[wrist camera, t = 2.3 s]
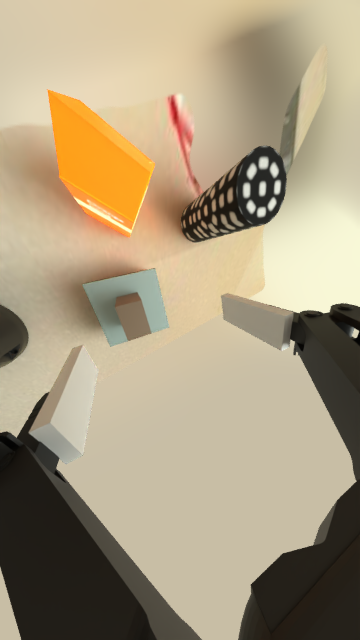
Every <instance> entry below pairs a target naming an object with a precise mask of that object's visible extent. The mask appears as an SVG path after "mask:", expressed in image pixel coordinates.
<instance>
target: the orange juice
mask: <svg viewBox="0 0 360 640" xmlns="http://www.w3.org/2000/svg"><path fill="white" fill-rule="evenodd" d="M48 96H49V103H50V110H51V117H52V124H53V131H54V138H55V145H56V152H57V159H58V166H59V173H60V174H59V177H60V179H61V180H62V181H63V183H64V184H65V185H66V187H67V188H68V190H69V191H70V192H71V194H72V195H73V196H74V198H75V200H76V201H77V202H78V203H79V204H80V206H81V207H82V209H83V210H84V211H85V213H86V214H88V215H90V216H91V217H93V218H95V219H97V220H99V221H100V222H102V223H104V224H106V225H108V226H109V227H111V228H113V229H115V230H117V231H118V232H120V233H122V234H124V235H126V236H127V237H129V238H130V235H131V232H132V229H133V227H134V224H135V221H136V218H137V216H138V213H139V210H140V207H141V205H142V202H143V199H144V196H145V193H146V191H147V188H148V184H149V181H150V178H151V175H152V172H153V169H154V166H155V163H154V162H152V161H151V160H150V159H149V158H148V157H146V156H145V155H144V154H143V153H142V152H141V151H139V150H138V149H137V148H136V147H135V146H133V145H132V144H131V143H130V142H129V141H128V140H126V139H125V138H124V137H123V136H122V135H120V134H119V133H118V132H117V131H116V130H114V129H113V128H112V127H111V126H110V125H109V124H107V123H106V122H105V121H104V120H103V119H101V118H100V117H99V116H98V115H97V114H96V113H94V112H93V111H92V110H91V109H90V108H88V107H87V106H86V105H85V104H84V103H82V102H81V101H80V100H77V99H74V98H71V97H68V96H65V95H62V94H60V93H56V92H54V91H51V90H48Z"/></svg>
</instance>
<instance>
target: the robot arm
mask: <svg viewBox="0 0 360 640" xmlns="http://www.w3.org/2000/svg"><path fill="white" fill-rule="evenodd" d="M221 298H222V308H223V318H224V320H226V321H228V322H230V323H231V324H233V325H235V326H237V327H238V328H240V329H242V330H244V331H246V332H248V333H250V334H251V335H253V336H255V337H257V338H259V339H261V340H263V341H264V342H266V343H268V344H270V345H271V346H273V347H275V348H277V349H279V350H281V351H282V350H284V349H286V348H288V347H289V346H290V339H291V340H293V341H295V345H294V355H296V352H298V355H299V356H300V357H301V359H302V361H303V363H304V365H305V367H306V369H307V371H308V373H309V375H310V377H311V378H312V381H313V383H314V385H315V387H316V389H317V391H318V392H319V394H320V396H321V398H322V400H323V402H324V404H325V406H326V408H327V410H328V412H329V414H330V416H331V418H332V420H333V421H334V424H335V426H336V427H337V429H338V431H339V433H340V435H341V437H342V439H343V441H344V443H345V445H346V447H347V449H348V451H349V453H350V455H351V458H352V463H353V471H354V475H355V478H356V481H357V482H356V483H354V484H353V485H352V486H351V488H349V489H348V490H347V491H346V492H345V493H344V494H343V495H342V496H341V497H340V498H339V499H338V500H337V502H336V503H335V504H334V506H333V507H332V509H331V510H330V512H329V513H328V515H327V516H326V518H325V519H324V521H323V522H322V524H321V525H320V527H319V530H318V533H317V536H316V539H315V542H314V545H313V546H309V547H305V548H302V549H298V550H294V551H291V552H287V553H283V554H282V555H281V556H280V557H279V558H278V559H277V560H276V561H275V562H274V563H273V564H271V565H270V566H269V567H268V568H267V570H265V571H264V572H263V573H262V574H261V575H260V576H259V577H258V578H257V579H256V580H255V581H254V582H253V583H252V584H251V596H250V598H249V600H248V603H247V605H246V608H245V612H244V615H243V618H242V622H241V627H240V633H239V639H238V640H360V307H358V306H355V305H350V304H343V303H341V304H335V305H332V306H331V309H330V312H329V313H322V312H319V311H302V312H300V313H296V312H293V311H289V310H286V309H281V308H279V307H275V306H272V305H267V304H263V303H260V302H256V301H253V300H249V299H246V298H242V297H239V296H235V295H232V294H228V293H227V294H224V295H221ZM354 328H355V329H357V330H359V334H358V337H357V338H354V337H352V334H353V331H354ZM27 343H28V332H27V329H26V327H25V325H24V323H23V322H22V320H21V319H20V318H19V317H18V316H17V315H16V314H14V313H13V312H12V311H10V310H9V309H7V308H5V307H4V306H2V305H0V368H1V367H3V366H5V365H7V364H9V363H10V362H12V361H13V360H14V359H16V358H17V357H18V356H19V355H20V354H21V353H22V352H23V351H24V350H25V348H26V346H27ZM97 376H98V368H97V367H96V365H95V363H94V362H93V360H92V359H91V357H90V355H89V354H88V352H87V350H86V349H85V347H84V345H81V346H78V347H76V348H73V349H72V351H71V353H70V355H69V356H68V358H67V360H66V362H65V364H64V366H63V368H62V370H61V372H60V374H59V375H58V377H57V379H56V381H55V383H54V385H53V387H52V389H51V391H50V392H48V393H46V394H45V395H44V396H43V397H42V398H41V399H40V400H39V401H38V402H37V404H36V405H35V407H34V409H33V411H32V413H31V414H30V416H29V418H28V420H27V421H26V423H25V424H24V426H23V428H22V430H21V431H20V433H19V435H18V437H17V438H16V437H15V436H13V435H12V434H11V433H9V432H2V433H0V567H1V571H2V574H3V577H4V581H5V584H6V588H7V591H8V595H9V598H10V602H11V605H12V609H13V612H14V616H15V619H16V623H17V626H18V629H19V633H20V636H21V640H202V639H201V638H200V637H199V636H198V635H197V634H196V633H195V632H194V630H193V629H192V628H191V627H190V626H189V625H188V624H187V623H185V622H184V621H183V620H182V619H181V618H180V617H179V616H178V615H177V614H176V613H175V611H174V610H173V609H172V608H171V607H170V606H169V605H168V603H167V602H166V601H165V600H164V598H163V597H162V596H161V595H160V593H159V592H158V591H157V590H156V589H155V587H154V586H153V585H152V584H151V582H150V581H149V580H148V579H147V578H146V576H145V575H144V574H143V573H142V571H141V570H140V569H139V568H138V567H137V565H136V564H135V563H134V562H133V560H132V559H131V558H130V557H129V556H128V555H127V553H126V552H125V551H124V549H123V548H122V547H121V546H120V545H119V544H118V542H117V541H116V540H115V538H114V537H113V536H112V535H111V534H110V533H109V531H108V530H107V529H106V528H105V526H104V525H103V524H102V523H101V521H100V520H99V519H98V518H97V517H96V515H95V514H94V513H93V512H92V511H91V509H90V508H89V507H88V506H87V505H86V503H85V502H84V501H83V499H81V497H80V496H79V495H78V494H77V492H76V491H75V490H74V489H73V488H72V486H71V485H70V484H69V482H68V481H67V480H66V479H65V478H64V476H63V475H62V474H61V473H60V472H59V471H58V470H57V469H56V467H57V464H58V461H59V459H60V460H62V462H64V463H65V464H68V463H70V462H72V461H73V460H75V459H77V458H79V457H81V456H83V453H84V447H85V442H86V436H87V430H88V425H89V420H90V414H91V409H92V403H93V397H94V392H95V387H96V381H97Z"/></svg>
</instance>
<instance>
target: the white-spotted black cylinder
mask: <svg viewBox="0 0 360 640" xmlns="http://www.w3.org/2000/svg"><path fill="white" fill-rule="evenodd" d="M286 180H287V179H286V170H285V166H284V163H283V160H282V158H281V156H280V155H279V153H278V152H277V151H276V150H275V149H273V148H271V147H270V146H259V147H257V148H255V149H254V150H253V151H251V152H250V153H249V154H248V155H247V156H246V157H244V158H243V159H242V160H241V161H240V162H239V163H237V164H236V165H235V166H234V167H233V168H232V169H230V170H229V171H228V172H227V173H226V174H225V175H224V176H222V177H221V178H220V179H219V180H218V181H217V182H215V183H214V184H213V185H212V186H211V187H210V188H208V189H207V190H206V191H205V192H204V193H203V194H201V195H200V196H199V197H198V198H197V199H196V200H194V201H193V202H192V203H191V204H190V205H189V206H188V207H186V209H185V210H184V212H183V214H182V217H181V227H182V231H183V233H184V235H185V236H186V237H187V239H189V240H190V241H192V242H201V241H205V240H208V239H212V238H216V237H220V236H223V235H227V234H231V233H234V232H238V231H242V230H246V229H249V228H253V227H257V226H260V225H264V224H266V223H268V222H270V221H271V220H272V219H273V218H274V217H275V215H276V214H277V213H278V211H279V209H280V207H281V205H282V202H283V200H284V196H285V191H286Z"/></svg>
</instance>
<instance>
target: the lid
mask: <svg viewBox="0 0 360 640" xmlns="http://www.w3.org/2000/svg"><path fill="white" fill-rule="evenodd" d="M83 288H84V290H85V292H86V294H87V296H88V299H89V301H90V303H91V305H92V307H93V309H94V312H95V314H96V316H97V318H98V320H99V323H100V325H101V327H102V329H103V331H104V334H105V336H106V338H107V340H108V342H109V345H110V347H111V346H114V345H117V344H120V343H123V342H126V341H130V340H133V339H136V338H139V337H142V336H145V335H148V334H151V333H154V332H157V331H160V330H163V329H166V328H169V324H168V320H167V316H166V311H165V307H164V303H163V299H162V295H161V291H160V286H159V282H158V278H157V274H156V270H155V268H153V269H149V270H144V271H140V272H135V273H131V274H126V275H122V276H117V277H113V278H108V279H104V280H99V281H95V282H90V283H86V284H83Z"/></svg>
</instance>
